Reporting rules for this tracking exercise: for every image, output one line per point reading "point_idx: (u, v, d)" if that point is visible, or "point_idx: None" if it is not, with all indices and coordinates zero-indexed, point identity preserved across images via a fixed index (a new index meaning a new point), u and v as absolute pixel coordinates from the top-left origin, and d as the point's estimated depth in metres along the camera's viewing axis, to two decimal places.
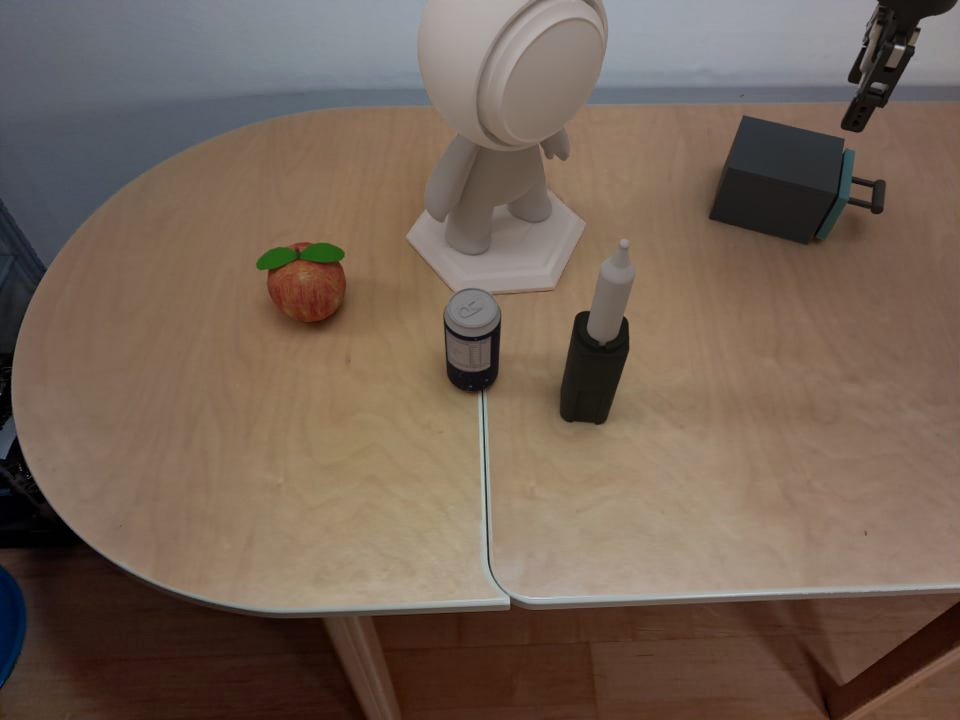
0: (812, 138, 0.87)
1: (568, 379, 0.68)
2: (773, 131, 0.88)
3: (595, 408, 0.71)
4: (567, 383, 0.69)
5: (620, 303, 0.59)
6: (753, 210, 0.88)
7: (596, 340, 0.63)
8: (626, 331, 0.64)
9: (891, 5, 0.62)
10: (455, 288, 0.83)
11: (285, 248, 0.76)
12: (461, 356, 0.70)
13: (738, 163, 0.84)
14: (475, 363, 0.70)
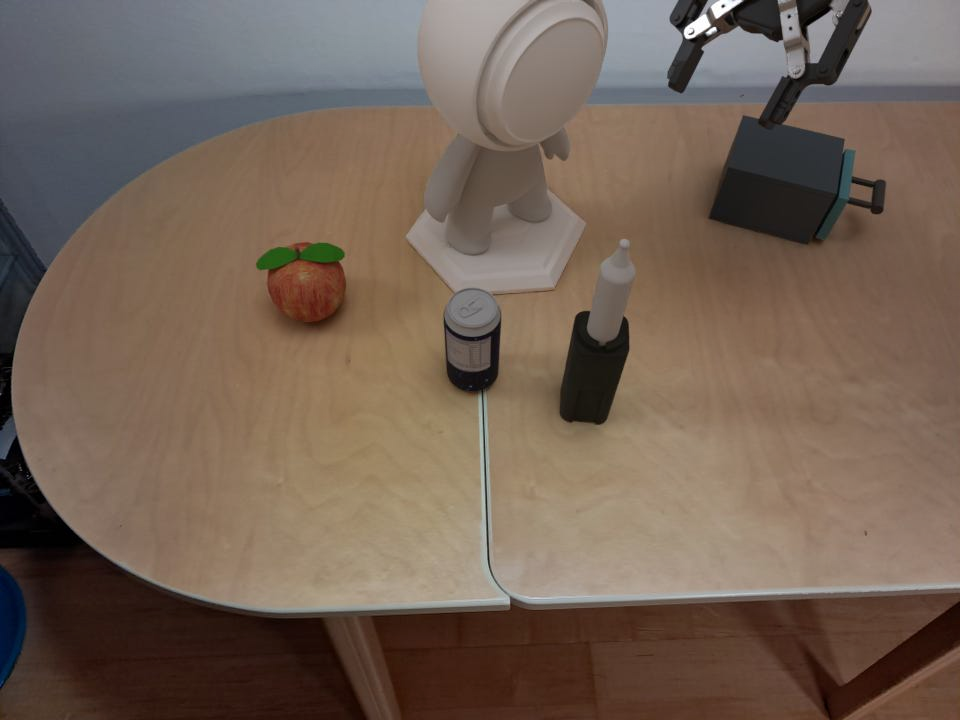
0: (812, 138, 0.87)
1: (568, 379, 0.68)
2: (773, 131, 0.88)
3: (595, 408, 0.71)
4: (567, 383, 0.69)
5: (620, 303, 0.59)
6: (753, 210, 0.88)
7: (596, 340, 0.63)
8: (626, 331, 0.64)
9: None
10: (455, 288, 0.83)
11: (285, 248, 0.76)
12: (461, 356, 0.70)
13: (738, 163, 0.84)
14: (475, 363, 0.70)
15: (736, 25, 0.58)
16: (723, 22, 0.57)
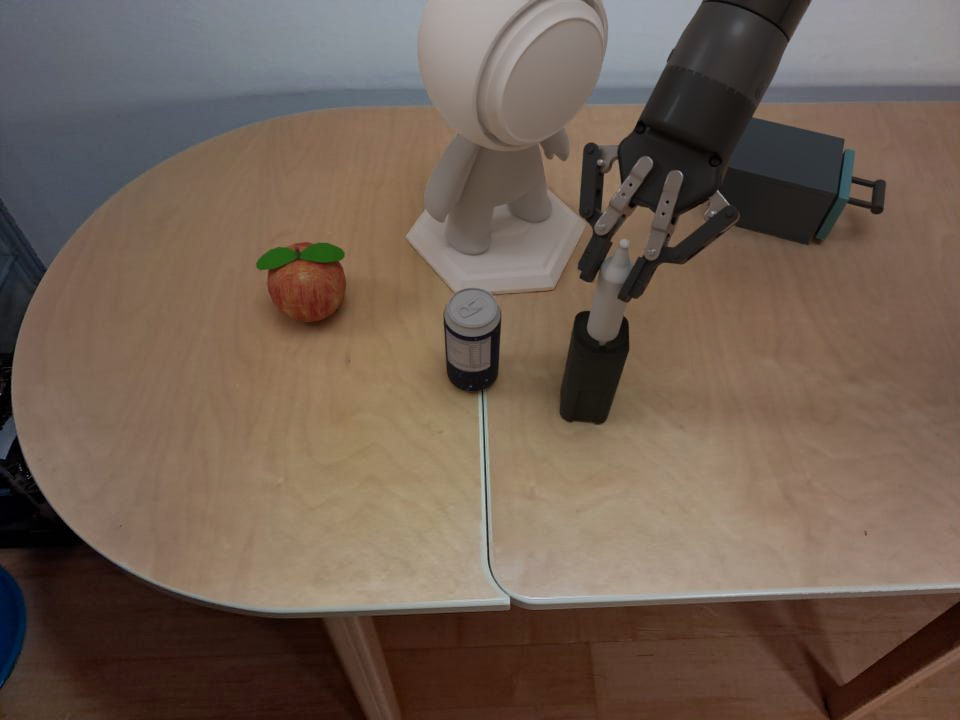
0: (812, 138, 0.87)
1: (568, 379, 0.68)
2: (773, 131, 0.88)
3: (595, 408, 0.71)
4: (567, 383, 0.69)
5: (620, 303, 0.59)
6: (753, 210, 0.88)
7: (596, 340, 0.63)
8: (626, 331, 0.64)
9: (721, 150, 0.51)
10: (455, 288, 0.83)
11: (285, 248, 0.76)
12: (461, 356, 0.70)
13: (738, 163, 0.84)
14: (475, 363, 0.70)
15: (637, 205, 0.57)
16: (628, 207, 0.55)
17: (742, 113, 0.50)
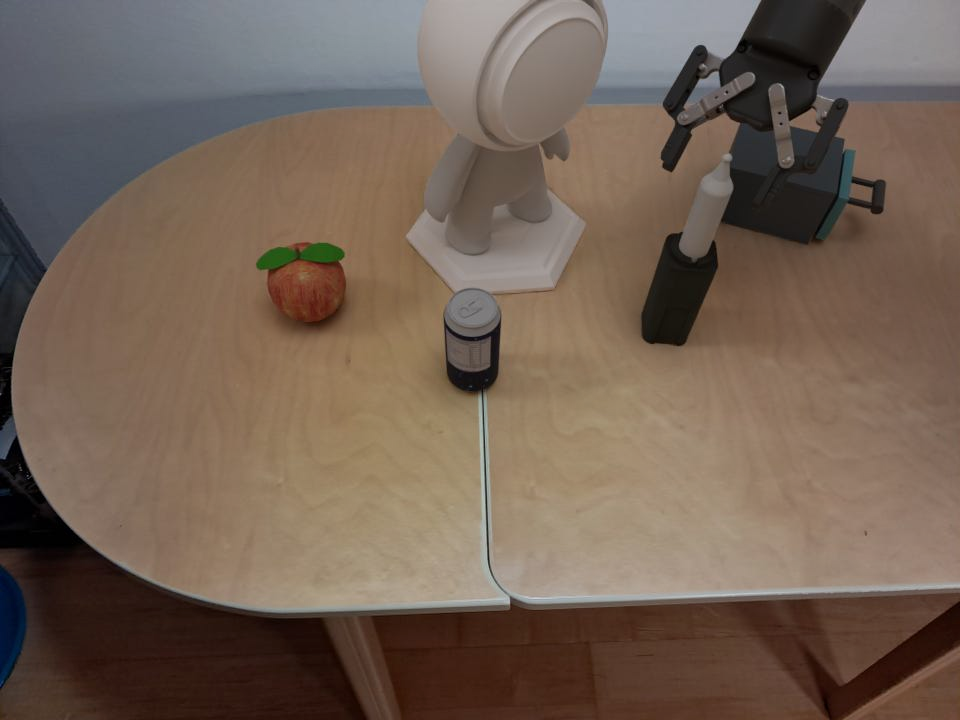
0: (812, 138, 0.87)
1: (656, 298, 0.74)
2: (773, 131, 0.88)
3: (678, 328, 0.77)
4: (655, 302, 0.75)
5: (716, 217, 0.65)
6: (753, 210, 0.88)
7: (688, 256, 0.69)
8: (715, 249, 0.70)
9: (820, 63, 0.56)
10: (455, 288, 0.83)
11: (285, 248, 0.76)
12: (461, 356, 0.70)
13: (738, 163, 0.84)
14: (475, 363, 0.70)
15: (721, 113, 0.63)
16: (714, 111, 0.61)
17: (840, 29, 0.56)
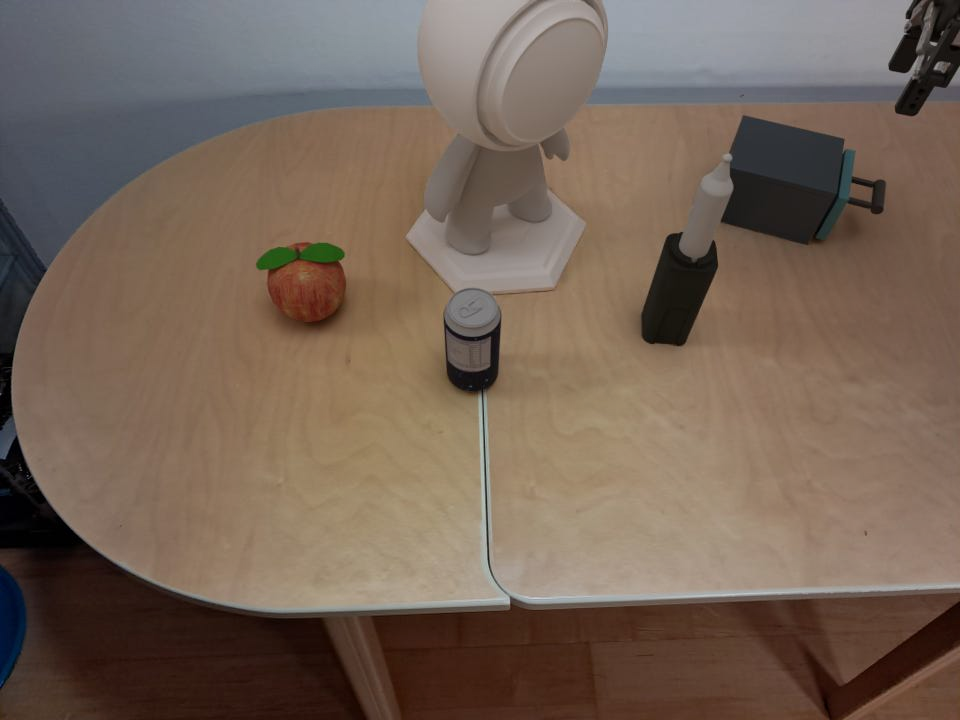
0: (812, 138, 0.87)
1: (656, 298, 0.74)
2: (773, 131, 0.88)
3: (678, 328, 0.77)
4: (655, 302, 0.75)
5: (716, 217, 0.65)
6: (753, 210, 0.88)
7: (688, 256, 0.69)
8: (715, 249, 0.70)
9: None
10: (455, 288, 0.83)
11: (285, 248, 0.76)
12: (461, 356, 0.70)
13: (738, 163, 0.84)
14: (475, 363, 0.70)
15: None
16: (923, 22, 0.71)
17: None
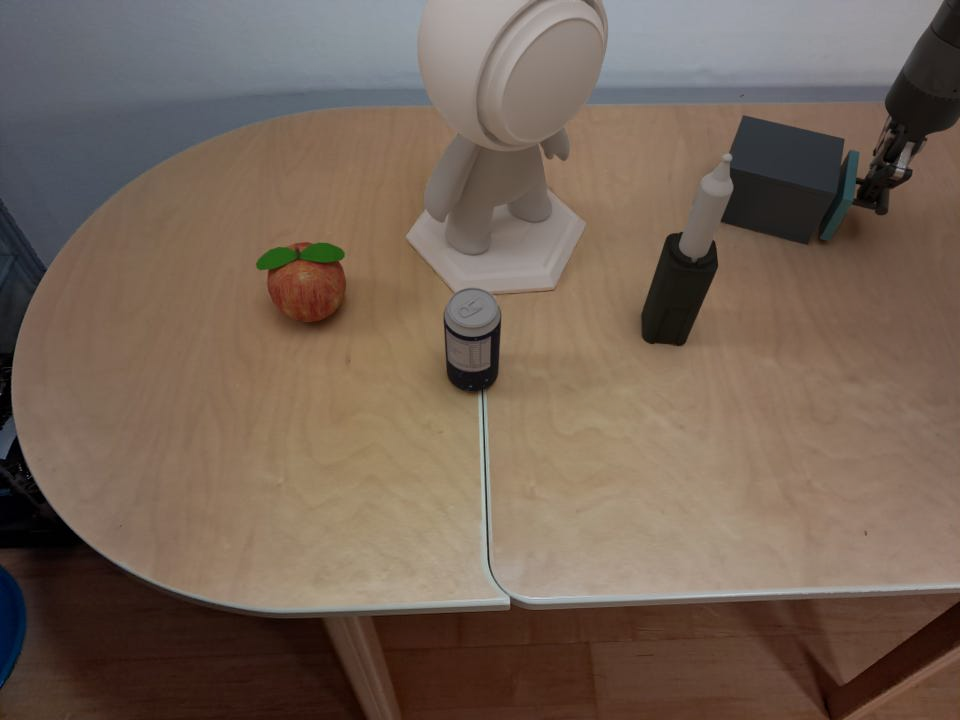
0: (812, 138, 0.87)
1: (656, 298, 0.74)
2: (773, 131, 0.88)
3: (678, 328, 0.77)
4: (655, 302, 0.75)
5: (716, 217, 0.65)
6: (753, 210, 0.88)
7: (688, 256, 0.69)
8: (715, 249, 0.70)
9: (903, 122, 0.74)
10: (455, 288, 0.83)
11: (285, 248, 0.76)
12: (461, 356, 0.70)
13: (738, 163, 0.84)
14: (475, 363, 0.70)
15: None
16: None
17: (918, 99, 0.72)
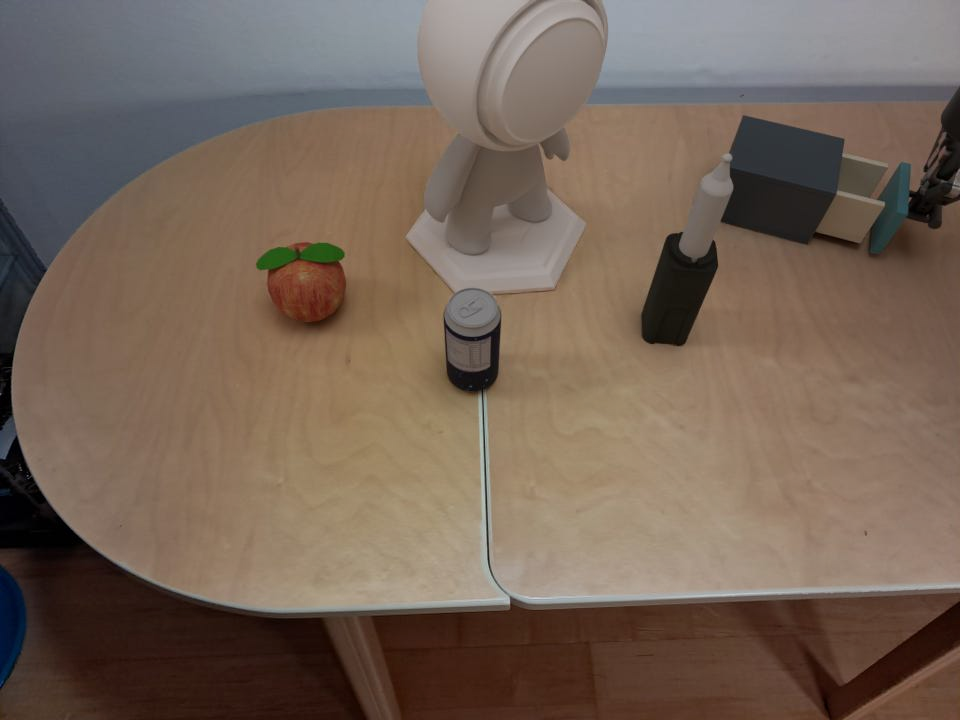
0: (812, 138, 0.87)
1: (656, 298, 0.74)
2: (773, 131, 0.88)
3: (678, 328, 0.77)
4: (655, 302, 0.75)
5: (716, 217, 0.65)
6: (753, 210, 0.88)
7: (688, 256, 0.69)
8: (715, 249, 0.70)
9: None
10: (455, 288, 0.83)
11: (285, 248, 0.76)
12: (461, 356, 0.70)
13: (738, 163, 0.84)
14: (475, 363, 0.70)
15: None
16: None
17: None
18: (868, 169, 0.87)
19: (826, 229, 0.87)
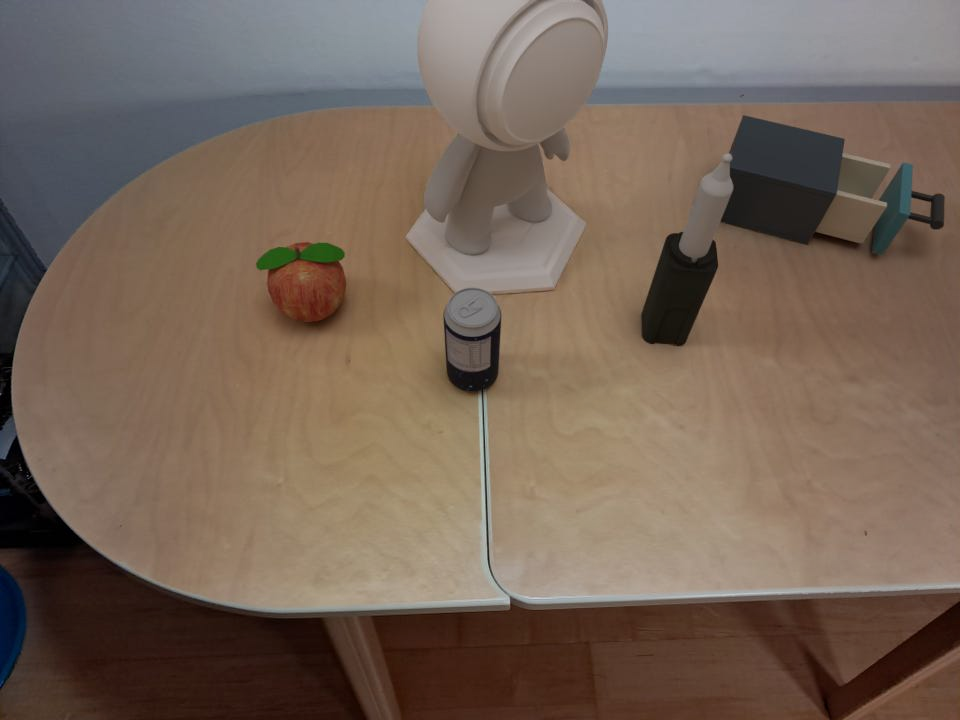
0: (812, 138, 0.87)
1: (656, 298, 0.74)
2: (773, 131, 0.88)
3: (678, 328, 0.77)
4: (655, 302, 0.75)
5: (716, 217, 0.65)
6: (753, 210, 0.88)
7: (688, 256, 0.69)
8: (715, 249, 0.70)
9: None
10: (455, 288, 0.83)
11: (285, 248, 0.76)
12: (461, 356, 0.70)
13: (738, 163, 0.84)
14: (475, 363, 0.70)
15: None
16: None
17: None
18: (870, 169, 0.87)
19: (828, 230, 0.87)
